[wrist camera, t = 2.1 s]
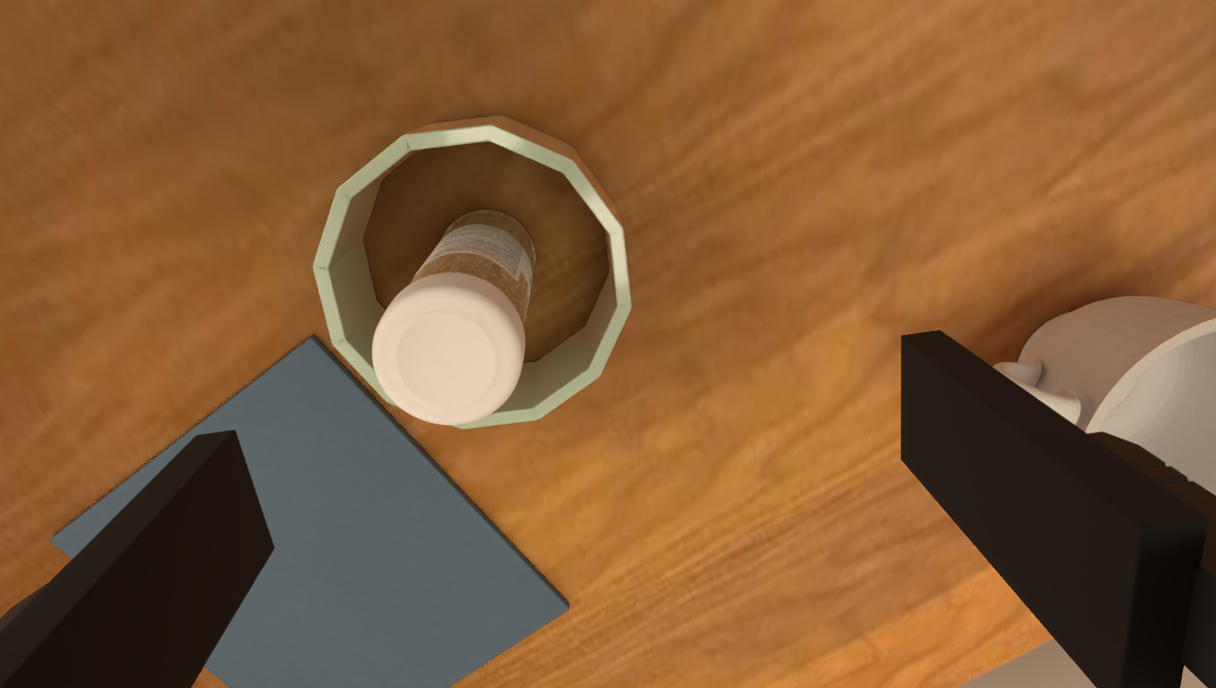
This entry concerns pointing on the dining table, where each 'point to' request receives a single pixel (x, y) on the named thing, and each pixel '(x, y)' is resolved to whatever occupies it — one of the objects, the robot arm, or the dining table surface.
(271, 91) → the dining table surface
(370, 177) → the pale green ring
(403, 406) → the sprinkles bottle
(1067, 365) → the teacup
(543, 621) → the rubber mat
